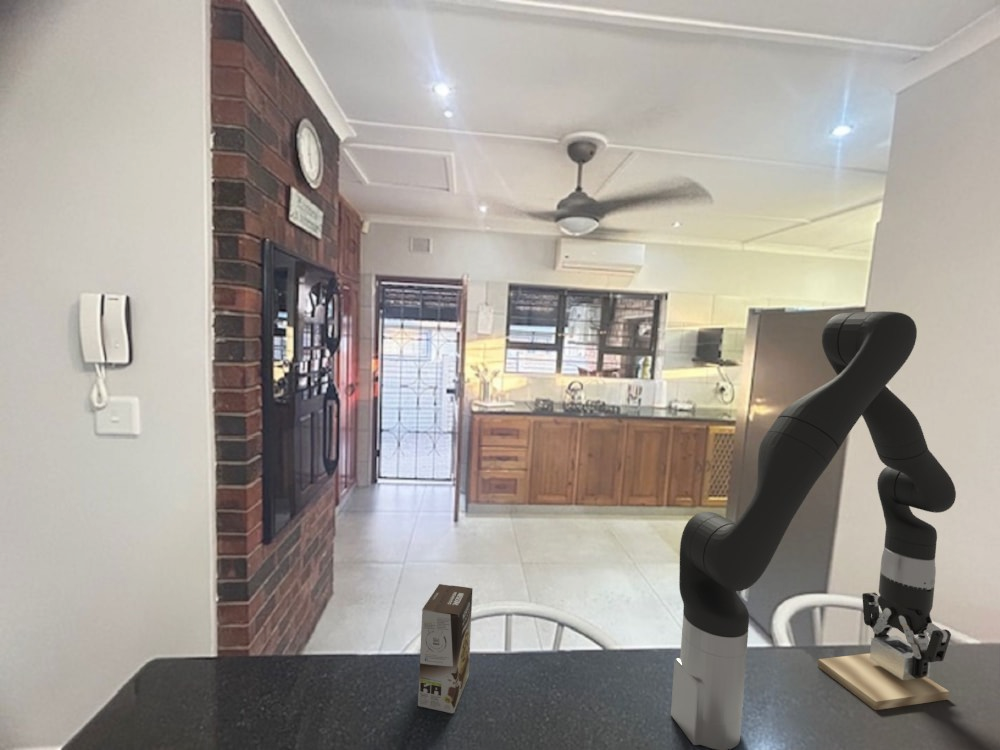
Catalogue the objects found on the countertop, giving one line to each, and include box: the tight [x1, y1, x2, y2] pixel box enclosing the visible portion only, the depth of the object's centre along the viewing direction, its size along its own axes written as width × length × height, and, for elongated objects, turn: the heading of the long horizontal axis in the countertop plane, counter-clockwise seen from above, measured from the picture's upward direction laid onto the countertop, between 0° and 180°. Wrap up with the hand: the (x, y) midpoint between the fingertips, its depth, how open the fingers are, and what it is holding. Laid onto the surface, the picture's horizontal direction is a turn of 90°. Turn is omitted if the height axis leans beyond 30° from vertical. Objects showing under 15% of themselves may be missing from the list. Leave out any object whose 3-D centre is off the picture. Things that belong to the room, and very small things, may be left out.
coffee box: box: [417, 583, 473, 714], centre depth 78 cm, size 9×6×16 cm
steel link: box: [869, 635, 932, 680], centre depth 86 cm, size 6×6×4 cm
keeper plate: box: [817, 647, 950, 711], centre depth 86 cm, size 16×11×6 cm
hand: (898, 664), depth 86 cm, fingers closed on steel link, 5 cm apart
